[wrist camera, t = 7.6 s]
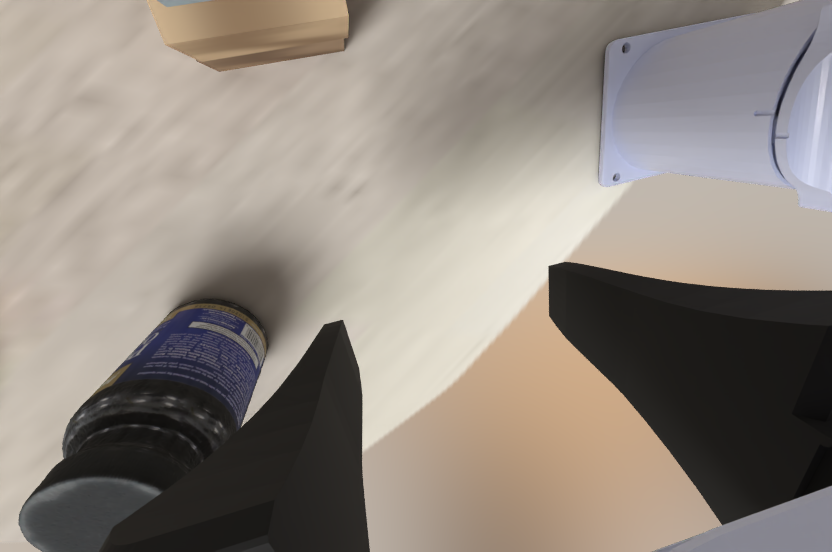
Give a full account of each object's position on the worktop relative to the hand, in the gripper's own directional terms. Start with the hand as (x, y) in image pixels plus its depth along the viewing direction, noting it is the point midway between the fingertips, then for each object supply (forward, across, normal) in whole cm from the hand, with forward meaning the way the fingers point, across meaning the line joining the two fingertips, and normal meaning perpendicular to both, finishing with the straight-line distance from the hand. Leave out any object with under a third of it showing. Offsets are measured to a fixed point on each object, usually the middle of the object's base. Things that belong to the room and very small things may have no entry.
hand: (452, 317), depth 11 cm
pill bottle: (+11, +13, +4) cm, 17 cm away
